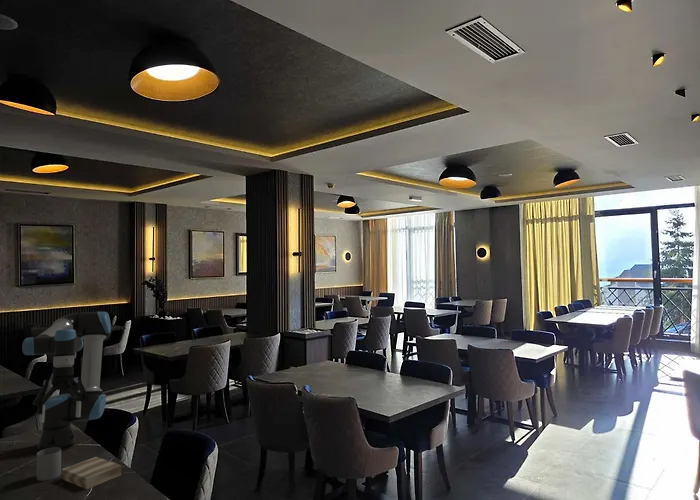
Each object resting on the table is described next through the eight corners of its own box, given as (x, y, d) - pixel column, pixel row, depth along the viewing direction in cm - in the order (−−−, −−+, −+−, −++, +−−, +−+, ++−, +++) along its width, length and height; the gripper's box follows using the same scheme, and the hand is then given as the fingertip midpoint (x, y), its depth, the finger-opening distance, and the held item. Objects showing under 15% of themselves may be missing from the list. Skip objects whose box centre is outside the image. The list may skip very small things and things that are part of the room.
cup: (48, 481, 183) (49, 455, 184) (31, 480, 185) (31, 454, 185) (65, 472, 191) (66, 447, 192) (49, 471, 193) (49, 446, 194)
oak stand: (61, 479, 185) (61, 469, 185) (96, 466, 197) (96, 456, 197) (86, 489, 176) (86, 478, 176) (121, 475, 187) (121, 465, 188)
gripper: (33, 368, 181) (29, 425, 177) (98, 364, 201) (96, 415, 197) (25, 369, 186) (21, 424, 181) (90, 364, 205) (88, 414, 201)
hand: (60, 419), depth 189 cm, fingers open, 13 cm apart
